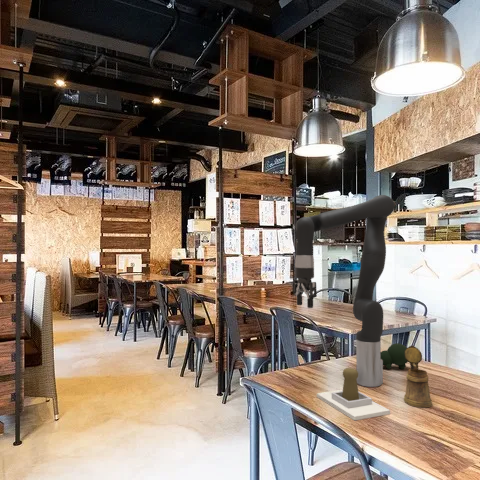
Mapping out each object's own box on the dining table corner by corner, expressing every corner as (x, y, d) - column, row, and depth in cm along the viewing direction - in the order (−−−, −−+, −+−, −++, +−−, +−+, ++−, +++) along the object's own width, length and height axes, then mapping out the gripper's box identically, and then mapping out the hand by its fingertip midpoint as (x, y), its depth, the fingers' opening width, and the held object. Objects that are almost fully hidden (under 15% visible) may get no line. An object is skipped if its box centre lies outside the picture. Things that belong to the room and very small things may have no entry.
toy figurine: (361, 373, 184) (421, 371, 180) (357, 330, 184) (416, 327, 180) (358, 367, 193) (415, 365, 189) (354, 326, 193) (411, 323, 189)
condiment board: (348, 391, 156) (348, 383, 156) (390, 413, 136) (390, 404, 136) (316, 396, 151) (316, 387, 151) (354, 420, 131) (354, 410, 131)
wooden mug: (424, 394, 154) (424, 345, 154) (435, 408, 140) (435, 355, 140) (399, 393, 155) (399, 344, 155) (407, 406, 142) (407, 353, 142)
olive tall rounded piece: (360, 404, 140) (360, 372, 141) (342, 403, 142) (342, 371, 142) (358, 398, 146) (358, 366, 147) (341, 397, 148) (340, 366, 148)
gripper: (322, 267, 164) (322, 308, 164) (303, 265, 177) (303, 303, 177) (305, 267, 161) (305, 309, 161) (288, 265, 175) (288, 304, 174)
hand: (304, 306), depth 169 cm, fingers open, 8 cm apart
